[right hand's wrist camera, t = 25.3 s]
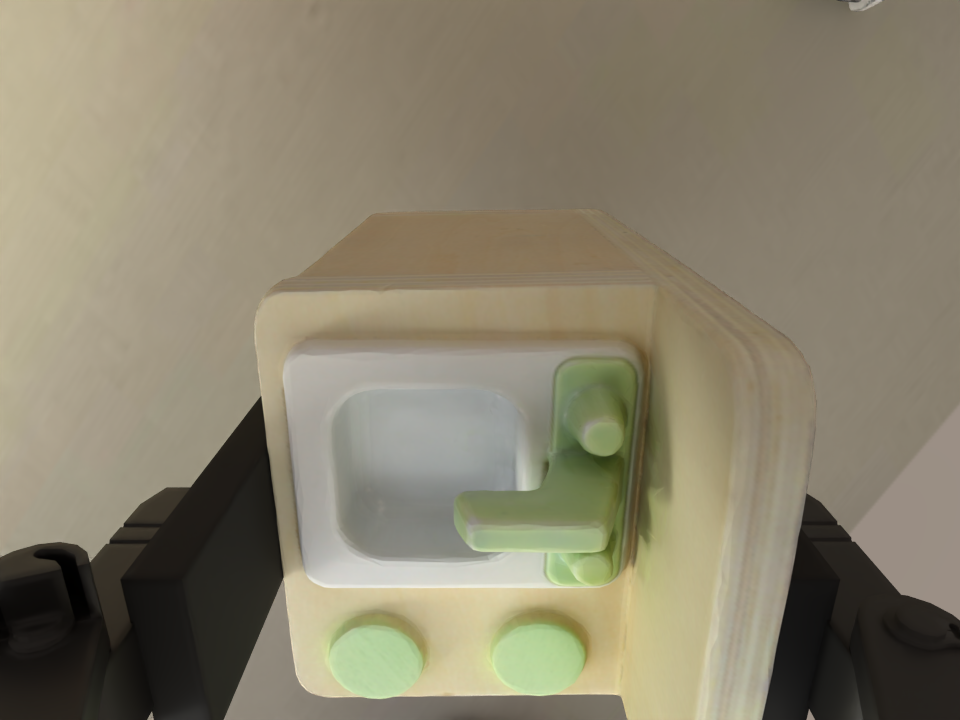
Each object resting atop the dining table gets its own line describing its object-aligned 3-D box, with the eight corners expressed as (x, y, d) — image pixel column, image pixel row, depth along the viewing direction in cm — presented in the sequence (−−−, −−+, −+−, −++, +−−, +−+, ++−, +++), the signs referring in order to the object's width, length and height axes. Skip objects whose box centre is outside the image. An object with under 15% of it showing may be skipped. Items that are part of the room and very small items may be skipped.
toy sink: (347, 204, 19) (111, 379, 6) (602, 201, 19) (844, 368, 7) (369, 464, 22) (236, 916, 10) (588, 461, 22) (736, 907, 10)
